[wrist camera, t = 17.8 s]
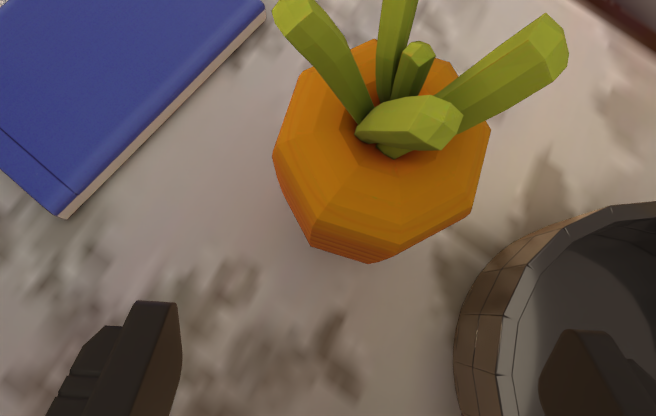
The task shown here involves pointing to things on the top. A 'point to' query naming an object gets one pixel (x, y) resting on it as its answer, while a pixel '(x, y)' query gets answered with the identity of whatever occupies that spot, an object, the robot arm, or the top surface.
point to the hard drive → (101, 83)
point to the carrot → (393, 127)
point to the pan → (556, 305)
